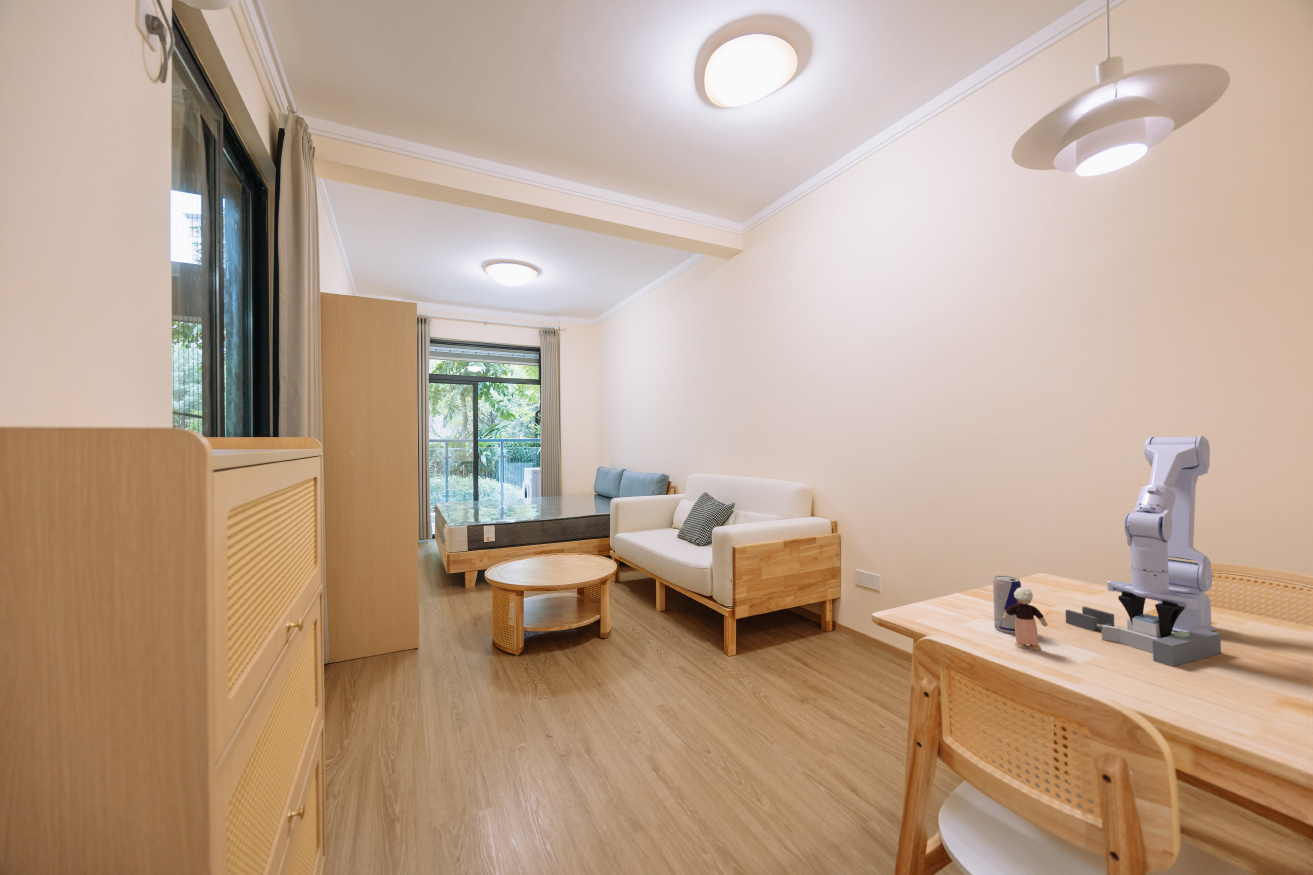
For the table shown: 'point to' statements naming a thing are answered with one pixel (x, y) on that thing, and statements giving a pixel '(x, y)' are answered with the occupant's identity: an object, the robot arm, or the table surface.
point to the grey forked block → (1168, 643)
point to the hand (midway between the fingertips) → (1151, 633)
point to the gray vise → (1090, 618)
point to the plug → (1147, 625)
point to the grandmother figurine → (1025, 619)
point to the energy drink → (1004, 602)
